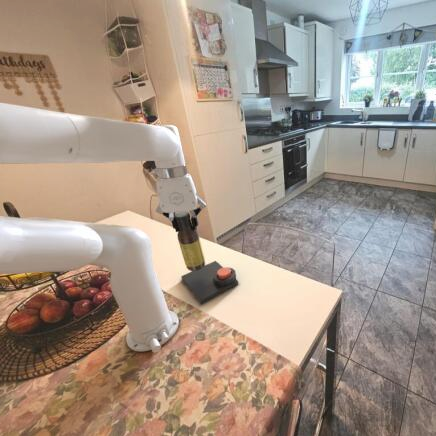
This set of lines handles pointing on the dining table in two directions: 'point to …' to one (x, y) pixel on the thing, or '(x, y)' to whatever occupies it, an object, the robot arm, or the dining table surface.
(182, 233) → the sauce bottle
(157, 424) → the dining table surface
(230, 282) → the black flat block
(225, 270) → the button
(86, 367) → the dining table surface
